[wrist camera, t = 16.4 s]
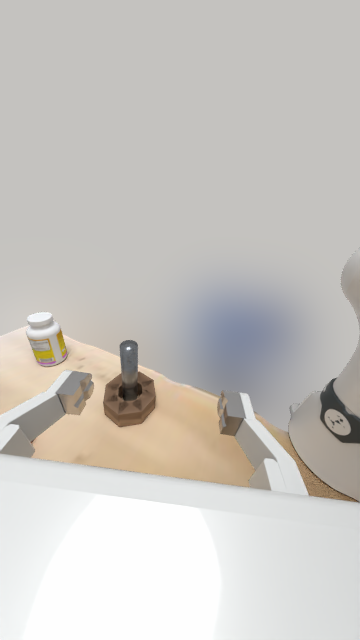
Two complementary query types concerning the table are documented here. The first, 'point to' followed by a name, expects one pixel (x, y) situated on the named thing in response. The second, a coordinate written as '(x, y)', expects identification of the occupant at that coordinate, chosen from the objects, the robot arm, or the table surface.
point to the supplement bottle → (46, 339)
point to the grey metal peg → (129, 369)
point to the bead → (129, 410)
